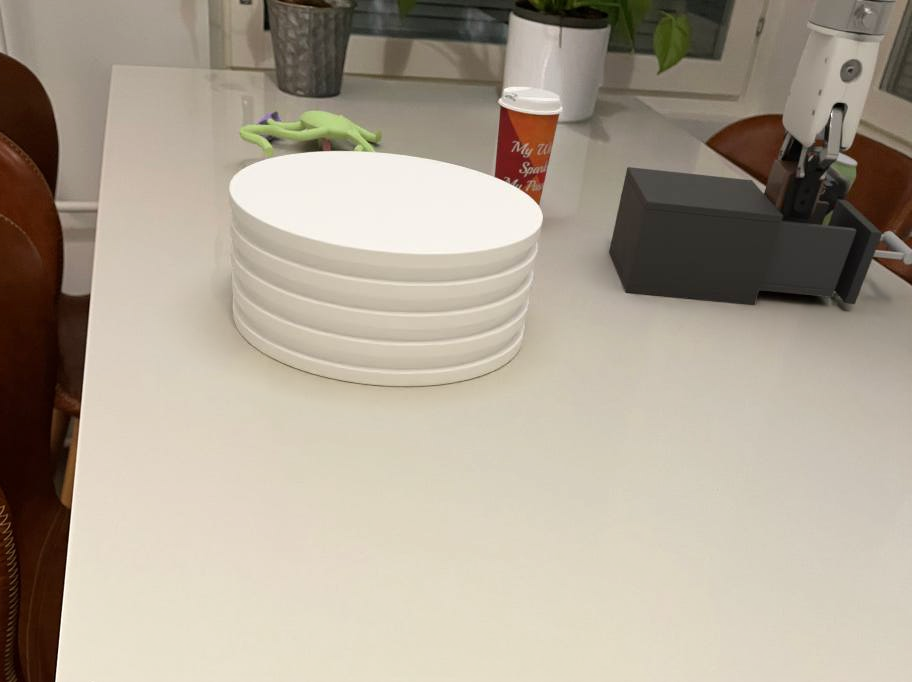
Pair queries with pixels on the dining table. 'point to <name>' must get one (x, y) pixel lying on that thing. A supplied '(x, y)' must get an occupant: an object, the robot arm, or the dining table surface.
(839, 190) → the beverage can
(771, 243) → the dark grey box
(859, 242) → the dark grey panel
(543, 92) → the paper cup
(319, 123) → the figurine
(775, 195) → the block
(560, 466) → the dining table surface
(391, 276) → the plate stack
